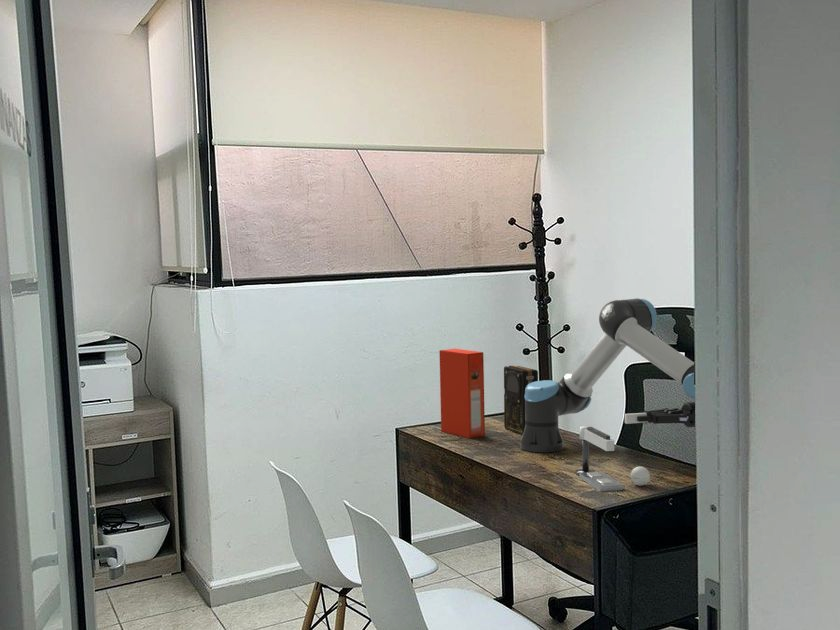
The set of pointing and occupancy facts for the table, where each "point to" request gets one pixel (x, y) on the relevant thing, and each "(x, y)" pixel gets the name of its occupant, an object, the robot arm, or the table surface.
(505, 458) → the table surface
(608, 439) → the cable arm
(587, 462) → the post
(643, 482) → the white egg shape
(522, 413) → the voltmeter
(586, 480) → the plate
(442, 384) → the file binder
